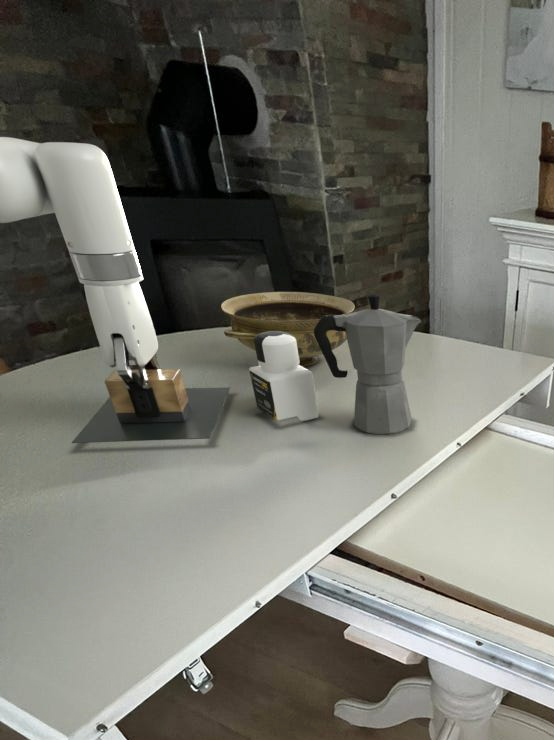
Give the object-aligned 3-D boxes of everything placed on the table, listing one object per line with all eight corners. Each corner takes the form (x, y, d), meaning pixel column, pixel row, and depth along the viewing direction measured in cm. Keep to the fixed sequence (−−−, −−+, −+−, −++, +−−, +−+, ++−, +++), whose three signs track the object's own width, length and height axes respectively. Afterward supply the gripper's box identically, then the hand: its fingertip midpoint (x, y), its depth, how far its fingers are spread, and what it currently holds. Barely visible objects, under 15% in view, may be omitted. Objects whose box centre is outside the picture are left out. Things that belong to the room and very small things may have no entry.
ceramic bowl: (281, 393, 101) (269, 330, 95) (193, 366, 111) (178, 306, 104) (393, 356, 121) (390, 301, 114) (311, 335, 130) (304, 283, 124)
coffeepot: (415, 409, 98) (411, 285, 86) (431, 430, 91) (429, 299, 80) (322, 418, 94) (304, 289, 82) (332, 441, 87) (314, 304, 75)
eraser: (119, 423, 86) (104, 380, 82) (129, 411, 90) (114, 369, 86) (184, 421, 87) (172, 379, 83) (191, 409, 91) (179, 368, 87)
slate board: (74, 451, 81) (71, 442, 80) (118, 397, 97) (116, 389, 97) (211, 446, 84) (209, 438, 83) (232, 394, 100) (230, 387, 99)
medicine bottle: (257, 414, 94) (240, 331, 86) (298, 405, 98) (285, 325, 90) (277, 428, 90) (261, 343, 82) (319, 418, 94) (307, 336, 86)
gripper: (97, 256, 82) (141, 391, 93) (51, 279, 69) (110, 432, 81) (154, 257, 83) (191, 390, 95) (120, 280, 70) (168, 430, 82)
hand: (153, 408), depth 88 cm, fingers closed on eraser, 5 cm apart
